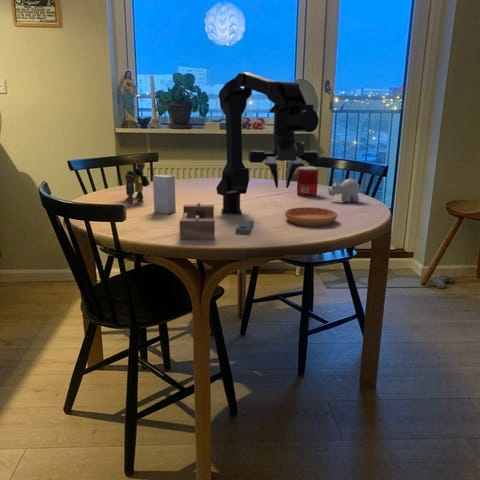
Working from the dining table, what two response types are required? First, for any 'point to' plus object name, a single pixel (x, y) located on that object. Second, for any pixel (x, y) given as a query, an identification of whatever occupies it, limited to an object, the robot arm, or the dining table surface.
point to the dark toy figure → (136, 184)
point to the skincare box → (164, 194)
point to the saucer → (311, 216)
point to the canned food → (307, 181)
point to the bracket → (244, 227)
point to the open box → (197, 222)
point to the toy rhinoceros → (346, 190)
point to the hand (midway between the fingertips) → (281, 187)
